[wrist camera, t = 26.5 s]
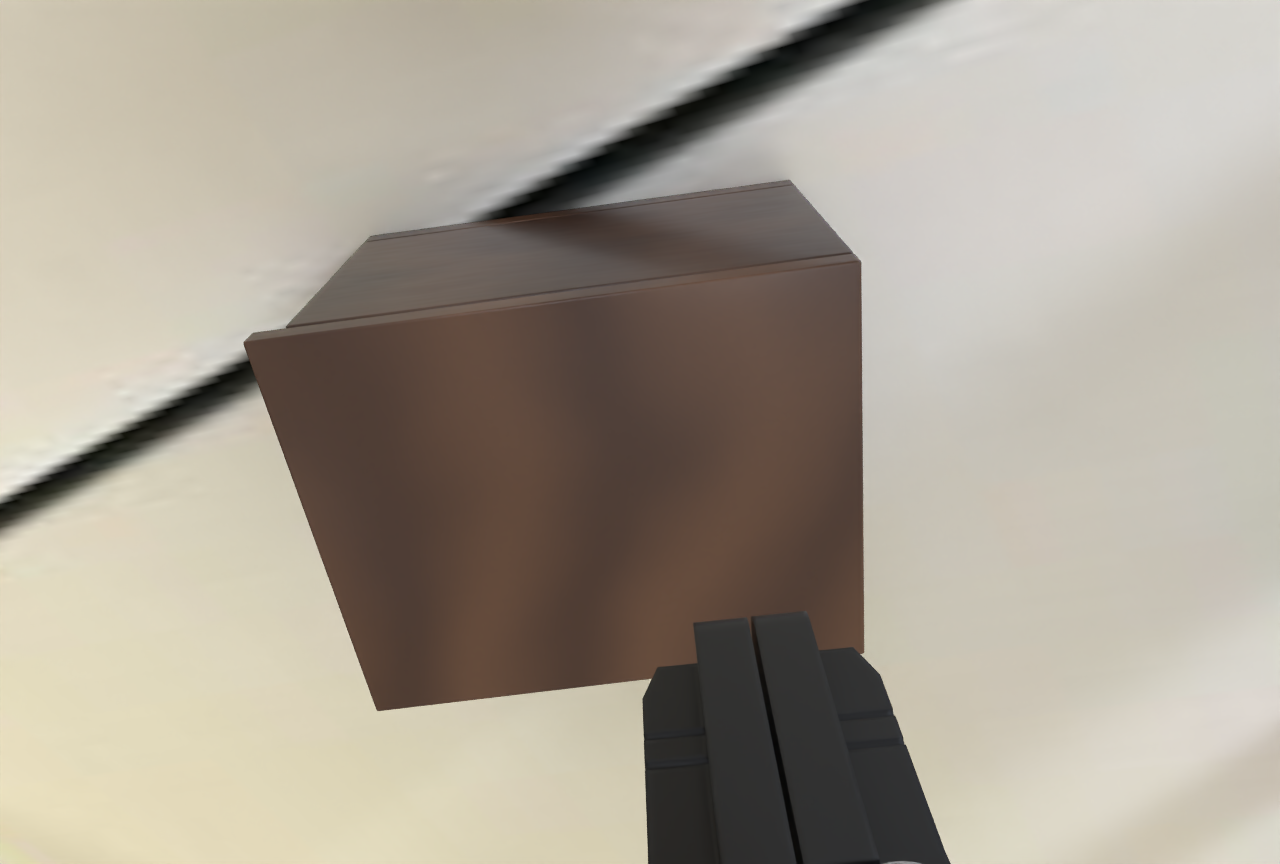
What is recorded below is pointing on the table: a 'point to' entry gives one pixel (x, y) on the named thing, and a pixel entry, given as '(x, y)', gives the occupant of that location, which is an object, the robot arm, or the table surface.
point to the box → (574, 251)
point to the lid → (579, 474)
